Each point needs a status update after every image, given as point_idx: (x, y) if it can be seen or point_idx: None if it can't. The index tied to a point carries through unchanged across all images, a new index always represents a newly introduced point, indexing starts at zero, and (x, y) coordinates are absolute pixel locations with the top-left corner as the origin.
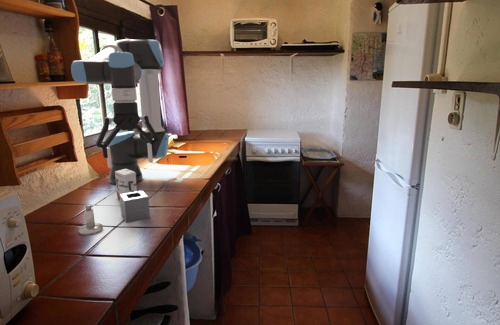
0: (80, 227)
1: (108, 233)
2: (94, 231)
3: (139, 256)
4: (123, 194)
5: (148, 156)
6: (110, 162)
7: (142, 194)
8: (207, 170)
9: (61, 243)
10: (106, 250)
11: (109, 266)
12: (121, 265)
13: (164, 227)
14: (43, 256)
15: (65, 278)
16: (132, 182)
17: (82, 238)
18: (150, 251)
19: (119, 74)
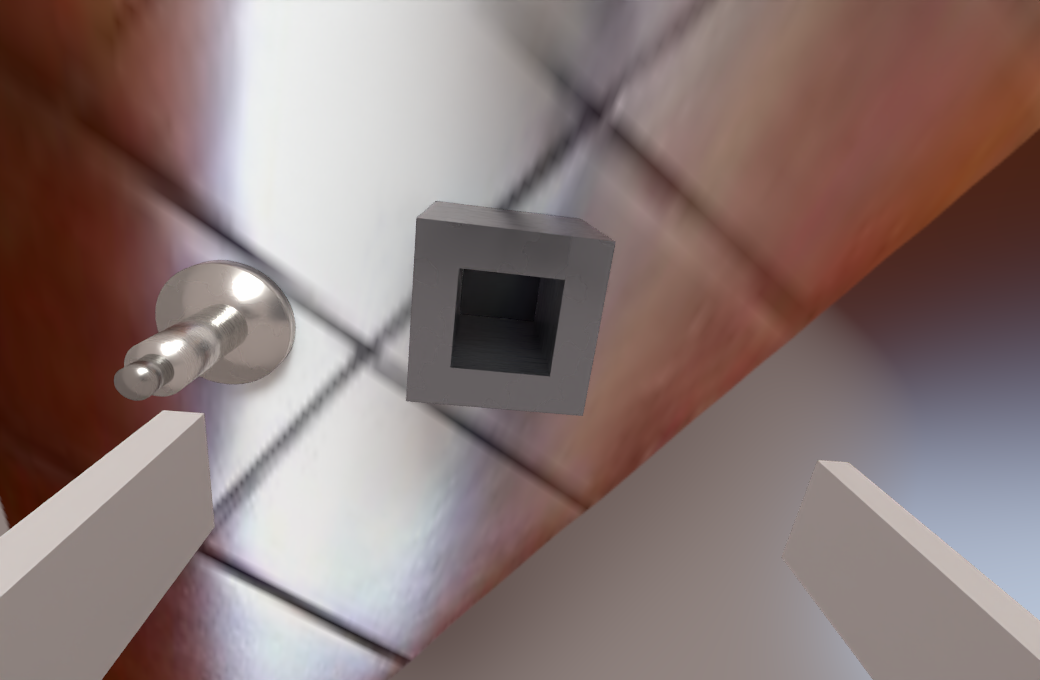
0: (164, 289)
1: (312, 409)
2: (240, 382)
3: (380, 648)
4: (444, 250)
5: (871, 535)
6: (151, 599)
7: (569, 347)
8: None
9: (80, 387)
10: (277, 554)
11: (271, 655)
12: (310, 667)
13: (563, 495)
14: (14, 469)
15: (125, 652)
16: None
17: (183, 391)
18: (426, 638)
19: None
